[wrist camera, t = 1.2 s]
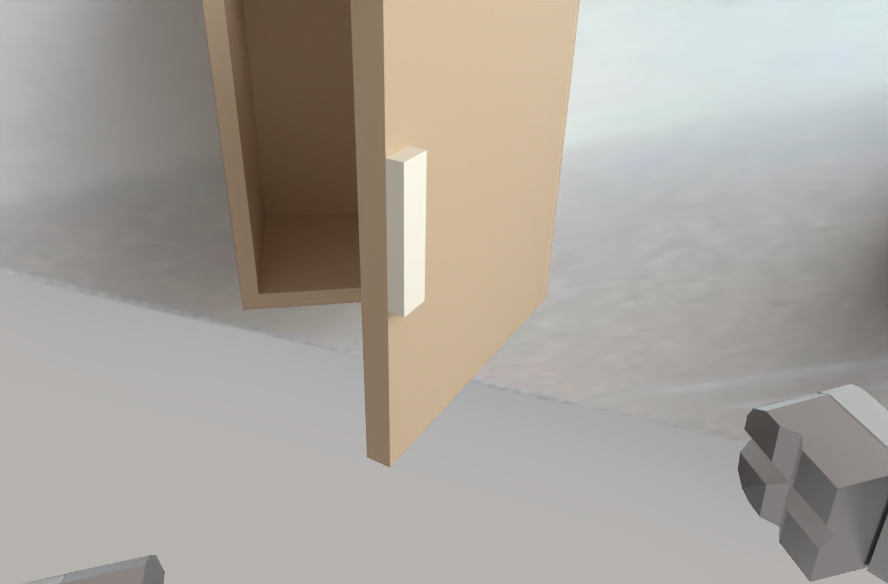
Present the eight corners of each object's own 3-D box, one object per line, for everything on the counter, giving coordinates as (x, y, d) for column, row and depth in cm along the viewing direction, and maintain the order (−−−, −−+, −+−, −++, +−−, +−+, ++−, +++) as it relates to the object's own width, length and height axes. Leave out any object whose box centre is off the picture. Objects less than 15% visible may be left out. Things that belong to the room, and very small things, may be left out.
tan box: (504, -122, 36) (567, -116, 28) (484, 211, 45) (527, 290, 37) (212, -130, 34) (185, -127, 26) (253, 222, 43) (243, 309, 35)
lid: (567, -116, 28) (608, -115, 27) (528, 291, 37) (557, 300, 36) (346, -114, 17) (403, -111, 17) (366, 457, 26) (404, 473, 26)
